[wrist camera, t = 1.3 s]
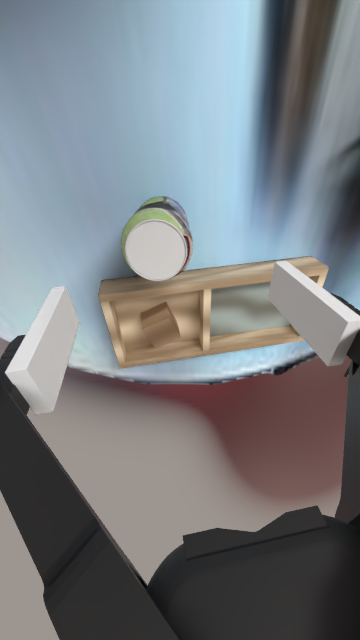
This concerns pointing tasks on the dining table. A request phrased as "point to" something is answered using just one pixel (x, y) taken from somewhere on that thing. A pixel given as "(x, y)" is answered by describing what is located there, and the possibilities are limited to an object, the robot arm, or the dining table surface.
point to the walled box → (201, 311)
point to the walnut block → (160, 325)
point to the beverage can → (157, 240)
